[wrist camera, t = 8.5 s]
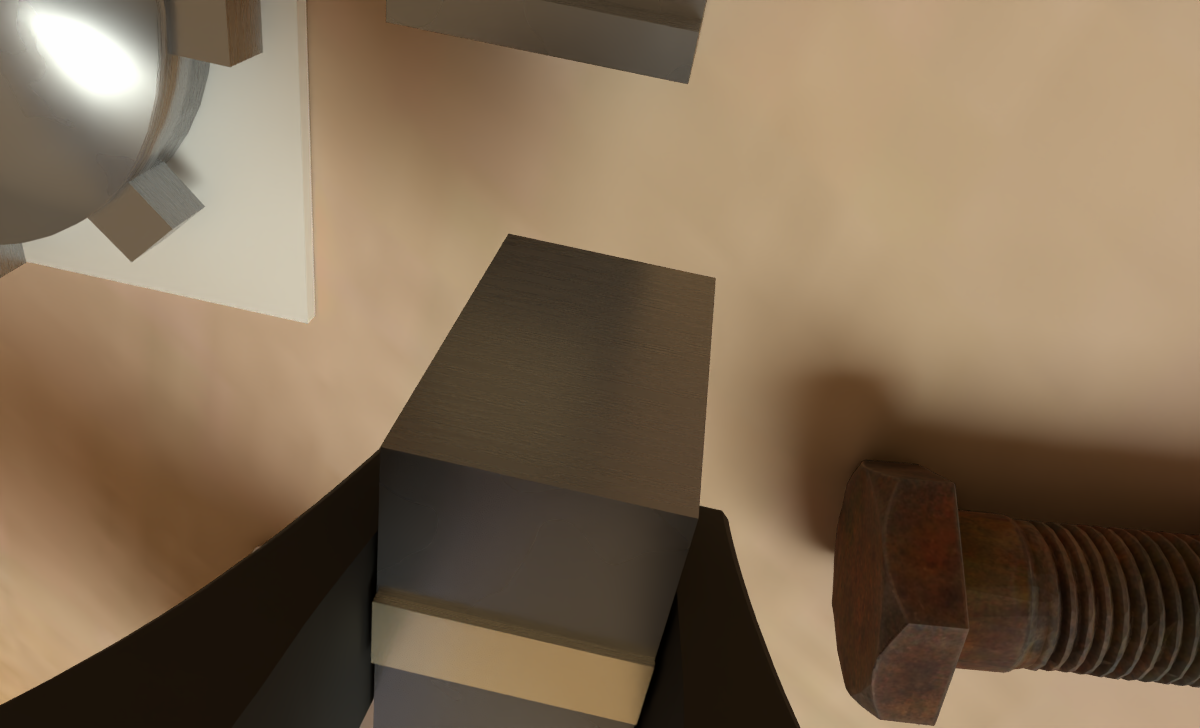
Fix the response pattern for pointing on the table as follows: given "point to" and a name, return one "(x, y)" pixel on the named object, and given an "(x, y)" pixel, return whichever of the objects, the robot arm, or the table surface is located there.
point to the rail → (572, 29)
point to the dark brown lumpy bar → (998, 595)
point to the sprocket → (106, 112)
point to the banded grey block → (542, 496)
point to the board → (230, 190)
